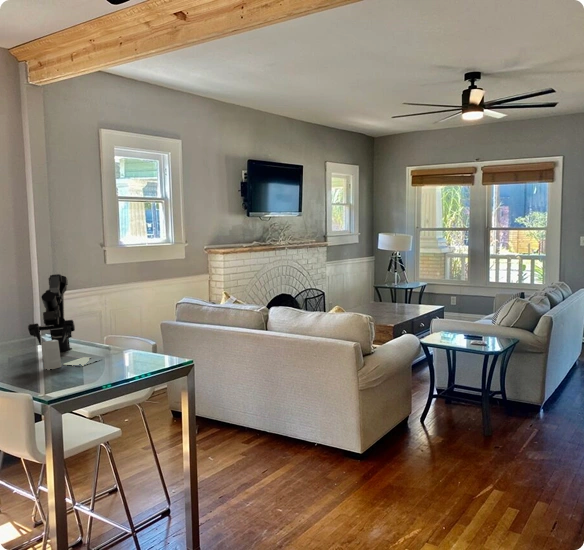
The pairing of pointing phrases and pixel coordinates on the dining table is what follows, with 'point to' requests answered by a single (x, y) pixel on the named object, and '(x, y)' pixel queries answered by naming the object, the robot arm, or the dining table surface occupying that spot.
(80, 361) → the mat
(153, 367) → the dining table surface
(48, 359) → the skincare box
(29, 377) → the dining table surface
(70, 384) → the dining table surface
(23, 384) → the dining table surface
